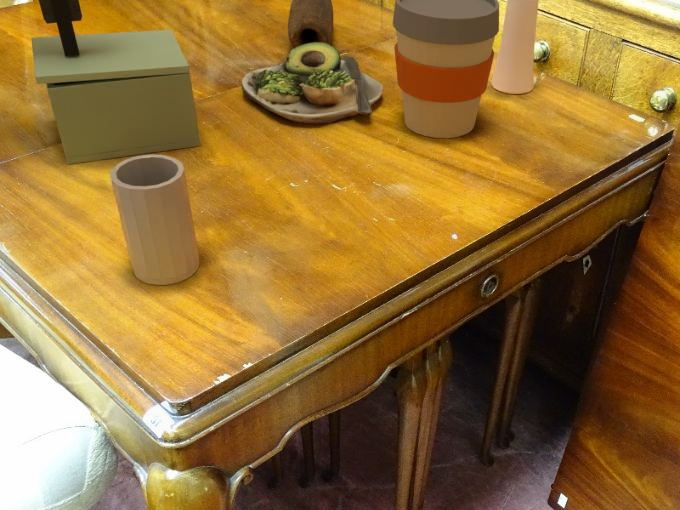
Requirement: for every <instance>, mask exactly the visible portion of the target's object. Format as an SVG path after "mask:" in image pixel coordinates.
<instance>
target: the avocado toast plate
mask: <svg viewBox="0 0 680 510" xmlns="http://www.w3.org/2000/svg"><path fill="white" fill-rule="evenodd" d="M285 58H286V60H285V61H284V63H282V64H280V65H273V66H267V67H262V68H258V69H255V70H252V71H251V70H250V71H249V72H247V73H246V74H245V75H243V78H242V80H241V89H242V91H243V93H244V95H245V96H246V97H247V98H248V99H249V100H250V101H252V102H254V103H256V104H258V105H259V106H261V107H263V109H266V110H267V111H270V112H271V113H273V114H276V115H277V116H280V117H283V118H285V119H286V120H289V121H291V122H294V123H301V124H302V123H303V124H315V125H318V124H327V123H328V124H329V123H333V122H336V121H339V120H343V119H346V118H349V117H355V116H357V115H359V114H361V115H370V114H372V113H373V108H372V105H374V103H376V102H377V101H379V99H380V98H381V96H382V94H383V91H384V87H383V84H382V83H380V82H379V81H377V80H376V79H375V78H373V77H371V76H369V75H367V74H365V72H362V71H361V70H360V68H359V62H358V61H357V59H356V58H355V57H353V56H347V55H345V56H343V58H341V54H340V52H339V50H338V49H337V48H336V47H335V46H333V45H331V43H330V44H326V43H322V42H313V43H307V44H303V45H300V46H297V47H295V48H294V47H293V48H292V49H291V50H290V51H289V52H288V54H286V55H285Z"/></svg>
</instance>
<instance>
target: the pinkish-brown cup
mask: <svg viewBox="0 0 680 510" xmlns="http://www.w3.org/2000/svg"><path fill="white" fill-rule="evenodd" d="M109 177H110V182H111V185H112V190H113V194H114V198H115V202H116V203H115V204H116V207H117V211H118V216H119V219H120V223H121V227H122V232H123V235H124V239H125V240H124V241H125V244H126V249H127V253H128V256H129V261H130V266H131V269H132V272H133V275H134V276H135V278H137V280H139V281H140V282H143V283H145V284H148V285H153V286H167V285H175V284H177V283H180V282H184V280H187V279H189V278H191V277H192V276H193V275H194V274H195V273H196V272H197V271H198V269H199V267H200V265H201V264H200V263H201V261H200V253H199V249H198V244H197V243H198V242H197V237H196V236H197V235H196V230H195V223H194V219H193V213H192V207H191V206H192V205H191V201H190V194H189V189H188V183H187V177H186V171H185V167H184V164H183V162H181V161H180V160H179V159H178V158H175V157H173V156H170V155H165V154H155V153H149V154H140V155H135V156H133V157H130V158H127V159H124V160H122V161H120V162H119V163H117V164H115V165H114V167H113V168H112V169H111V171H110V172H109Z"/></svg>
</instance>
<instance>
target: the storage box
mask: <svg viewBox="0 0 680 510" xmlns="http://www.w3.org/2000/svg"><path fill="white" fill-rule="evenodd" d="M45 85H46V90H47V91H46V92H47V94H48V98H49V102H50V105H51V108H52V112H53V115H54V119H55V123H56V127H57V130H58V134H59V138H60V142H61V144H62V148H63V152H64V156H65V159H66V163H67V165H74V164H81V163H87V162H94V161H95V162H96V161H103V160H109V159H110V160H111V159H116V158H125V157H130V156H140V155H147V154H154V153H158V152H167V151H173V150H180V149H188V148H194V147H195V148H196V147H201V146H202V145H201V138H200V131H199V125H198V118H197V113H196V112H197V111H196V104H195V99H194V90H193V85H192V78H191V72H190V73H179V74H166V75H152V76H139V77H126V78H112V79H99V80H86V81H72V82H59V83H46V84H45Z"/></svg>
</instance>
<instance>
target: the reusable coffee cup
mask: <svg viewBox="0 0 680 510" xmlns="http://www.w3.org/2000/svg"><path fill="white" fill-rule="evenodd" d="M392 17H393V18H392V26H393V28H394V29H395V35H396V43H395V44H394V47H393V48H394V49H393V50H394V58H395V69H396V77H397V78H396V79H397V85H398V87H399V89H400V90H401V96H402V105H403V106H402V107H403V116H404V117H403V118H404V123H405V126H406V127H407V128H408V129H409V130H410V131H412V132H414V133H416V134H418V135H421V136H424V137H429V138H436V139H449V138H450V139H453V138H457V137H461V136H462V137H463V136H464V135H467V134H469V133H470V132H471V131H472V130H473V129H474V128H475V125H476V120H477V115H478V111H479V107H480V102H481V98H482V95H484V94H485V92H486V90H487V87H488V83H489V79H490V75H491V70H492V66H493V63H494V58H495V51H494V49H493V47H494V44H495V43H494V42H495V39H496V36H497V35H498V33H499V32H500V2H499V0H395V1H394V9H393V16H392Z"/></svg>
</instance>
